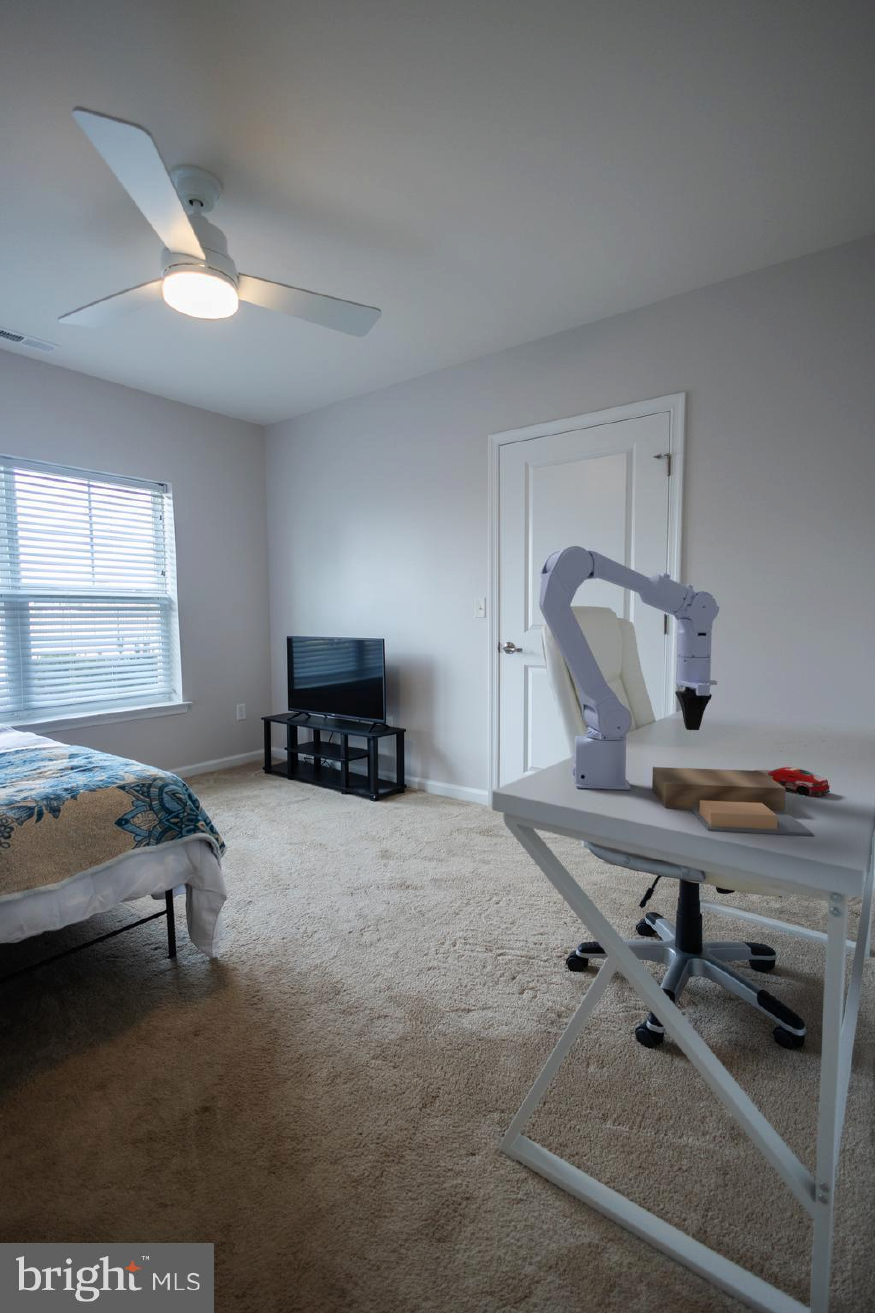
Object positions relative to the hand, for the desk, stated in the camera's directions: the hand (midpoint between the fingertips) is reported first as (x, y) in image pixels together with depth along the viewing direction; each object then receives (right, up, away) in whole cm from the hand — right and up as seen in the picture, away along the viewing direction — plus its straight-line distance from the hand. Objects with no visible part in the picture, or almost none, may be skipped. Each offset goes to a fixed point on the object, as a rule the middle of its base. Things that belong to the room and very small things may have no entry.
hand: (692, 729), depth 113 cm
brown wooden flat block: (-1, -11, -11) cm, 15 cm away
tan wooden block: (-3, -9, -23) cm, 24 cm away
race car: (+15, -11, -4) cm, 19 cm away
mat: (-1, -11, -22) cm, 24 cm away
